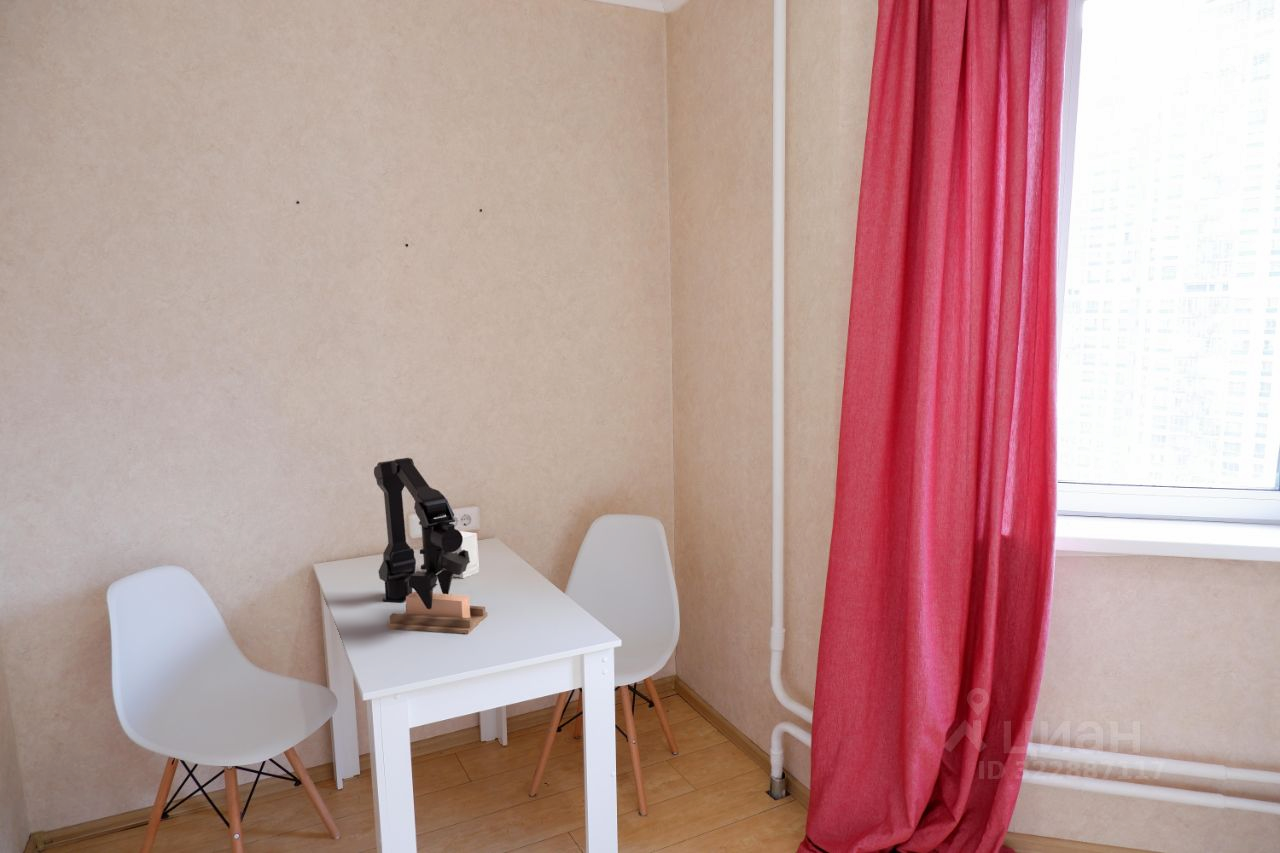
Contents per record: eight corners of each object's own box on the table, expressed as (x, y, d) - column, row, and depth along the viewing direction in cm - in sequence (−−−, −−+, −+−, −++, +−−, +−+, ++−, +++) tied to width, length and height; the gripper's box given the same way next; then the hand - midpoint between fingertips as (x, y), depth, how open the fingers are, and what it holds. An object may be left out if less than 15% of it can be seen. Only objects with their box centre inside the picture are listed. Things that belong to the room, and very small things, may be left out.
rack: (388, 628, 192) (387, 617, 192) (411, 611, 204) (410, 600, 204) (468, 633, 188) (467, 622, 187) (487, 615, 199) (487, 605, 199)
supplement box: (480, 572, 236) (478, 533, 235) (462, 579, 230) (460, 538, 228) (463, 568, 240) (460, 530, 239) (445, 575, 234) (443, 535, 232)
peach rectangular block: (407, 619, 196) (405, 596, 195) (415, 613, 200) (414, 591, 199) (462, 623, 192) (461, 601, 191) (470, 617, 196) (469, 595, 195)
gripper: (446, 555, 183) (450, 617, 184) (478, 535, 201) (481, 591, 203) (404, 554, 185) (408, 615, 187) (440, 533, 203) (443, 589, 205)
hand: (437, 602), depth 195 cm, fingers open, 9 cm apart
